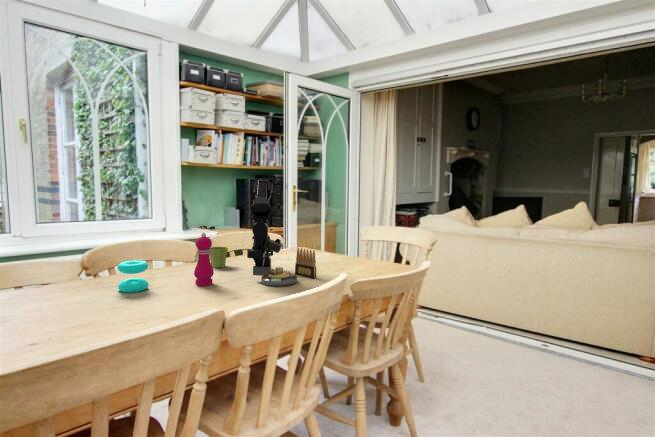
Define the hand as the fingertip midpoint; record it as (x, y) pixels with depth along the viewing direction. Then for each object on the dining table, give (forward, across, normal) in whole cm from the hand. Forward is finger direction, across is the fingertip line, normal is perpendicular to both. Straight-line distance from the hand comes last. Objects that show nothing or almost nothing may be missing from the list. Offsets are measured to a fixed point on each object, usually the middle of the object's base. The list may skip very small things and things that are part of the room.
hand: (260, 271), depth 166 cm
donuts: (+4, -21, +42) cm, 47 cm away
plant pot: (+4, +21, +25) cm, 33 cm away
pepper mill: (+4, -10, +20) cm, 22 cm away
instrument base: (+3, -3, -8) cm, 10 cm away
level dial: (+1, -3, -5) cm, 6 cm away
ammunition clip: (+4, +8, -18) cm, 20 cm away
